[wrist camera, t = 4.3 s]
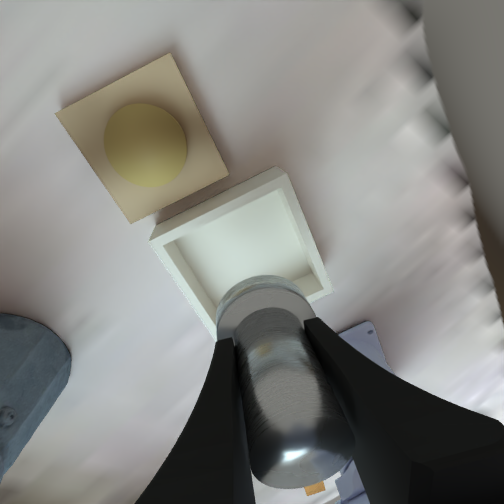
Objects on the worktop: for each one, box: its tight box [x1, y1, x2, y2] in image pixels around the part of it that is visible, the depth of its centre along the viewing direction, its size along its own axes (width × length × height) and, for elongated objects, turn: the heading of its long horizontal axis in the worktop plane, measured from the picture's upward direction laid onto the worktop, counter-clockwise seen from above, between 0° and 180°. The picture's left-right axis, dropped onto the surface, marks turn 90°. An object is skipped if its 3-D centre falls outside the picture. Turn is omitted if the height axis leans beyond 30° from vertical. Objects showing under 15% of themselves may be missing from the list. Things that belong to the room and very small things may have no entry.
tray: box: [148, 166, 334, 342], centre depth 21 cm, size 9×9×3 cm
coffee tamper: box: [216, 275, 356, 496], centre depth 11 cm, size 4×4×6 cm
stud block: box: [55, 53, 230, 224], centre depth 17 cm, size 7×7×2 cm
